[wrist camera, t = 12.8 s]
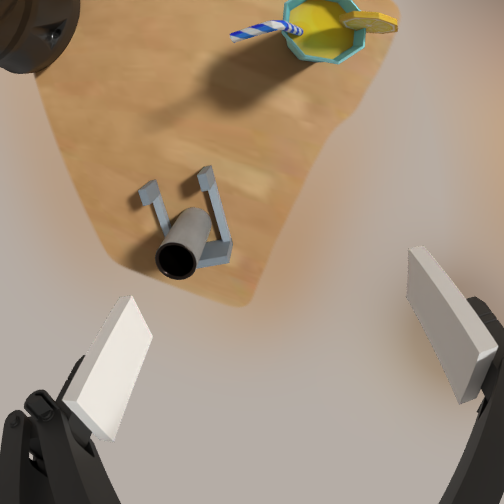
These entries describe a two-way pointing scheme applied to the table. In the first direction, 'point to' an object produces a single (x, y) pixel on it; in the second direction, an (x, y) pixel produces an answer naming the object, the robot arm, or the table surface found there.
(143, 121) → the table surface
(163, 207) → the endcap rail
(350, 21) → the cup
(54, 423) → the robot arm
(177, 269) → the grey tube
